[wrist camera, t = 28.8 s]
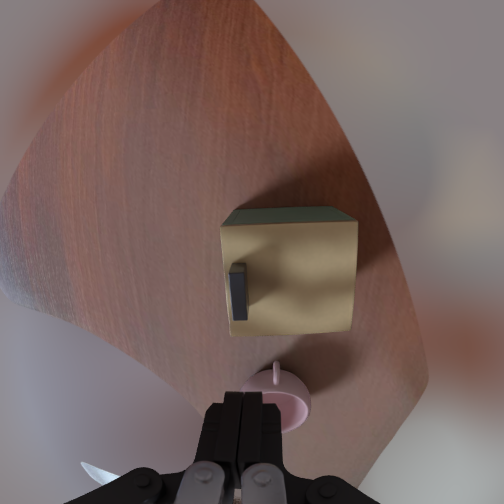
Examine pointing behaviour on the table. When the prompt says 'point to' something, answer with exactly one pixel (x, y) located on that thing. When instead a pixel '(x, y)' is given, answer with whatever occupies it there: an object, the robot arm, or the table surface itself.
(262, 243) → the slide door
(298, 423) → the mug
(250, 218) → the case
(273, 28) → the table surface
